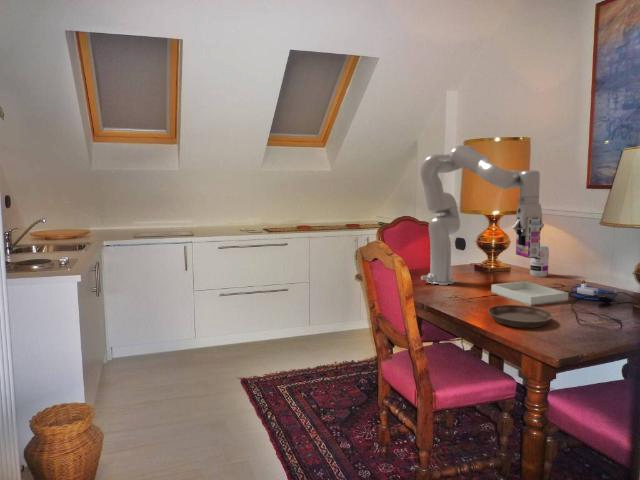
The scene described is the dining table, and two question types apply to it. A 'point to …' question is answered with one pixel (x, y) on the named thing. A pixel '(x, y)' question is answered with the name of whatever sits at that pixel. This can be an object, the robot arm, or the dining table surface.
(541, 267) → the supplement can
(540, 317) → the plant saucer
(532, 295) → the tray
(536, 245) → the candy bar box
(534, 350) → the dining table surface
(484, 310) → the dining table surface
